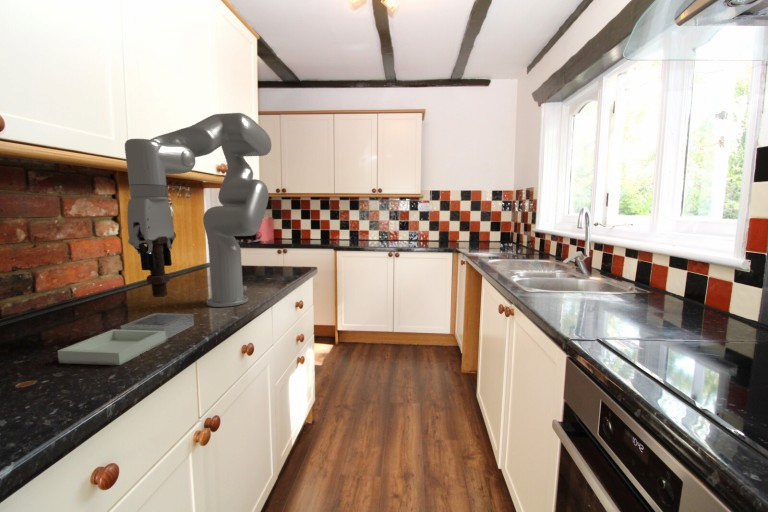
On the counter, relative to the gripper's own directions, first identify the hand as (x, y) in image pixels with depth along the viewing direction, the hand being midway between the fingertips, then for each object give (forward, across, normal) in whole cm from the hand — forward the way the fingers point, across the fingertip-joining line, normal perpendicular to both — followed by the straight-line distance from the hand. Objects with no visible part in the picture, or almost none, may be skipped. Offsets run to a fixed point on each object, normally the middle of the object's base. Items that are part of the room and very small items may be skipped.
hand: (157, 267), depth 88 cm
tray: (+16, +14, 0) cm, 21 cm away
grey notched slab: (+16, +1, 0) cm, 16 cm away
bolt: (+8, 0, 0) cm, 8 cm away
